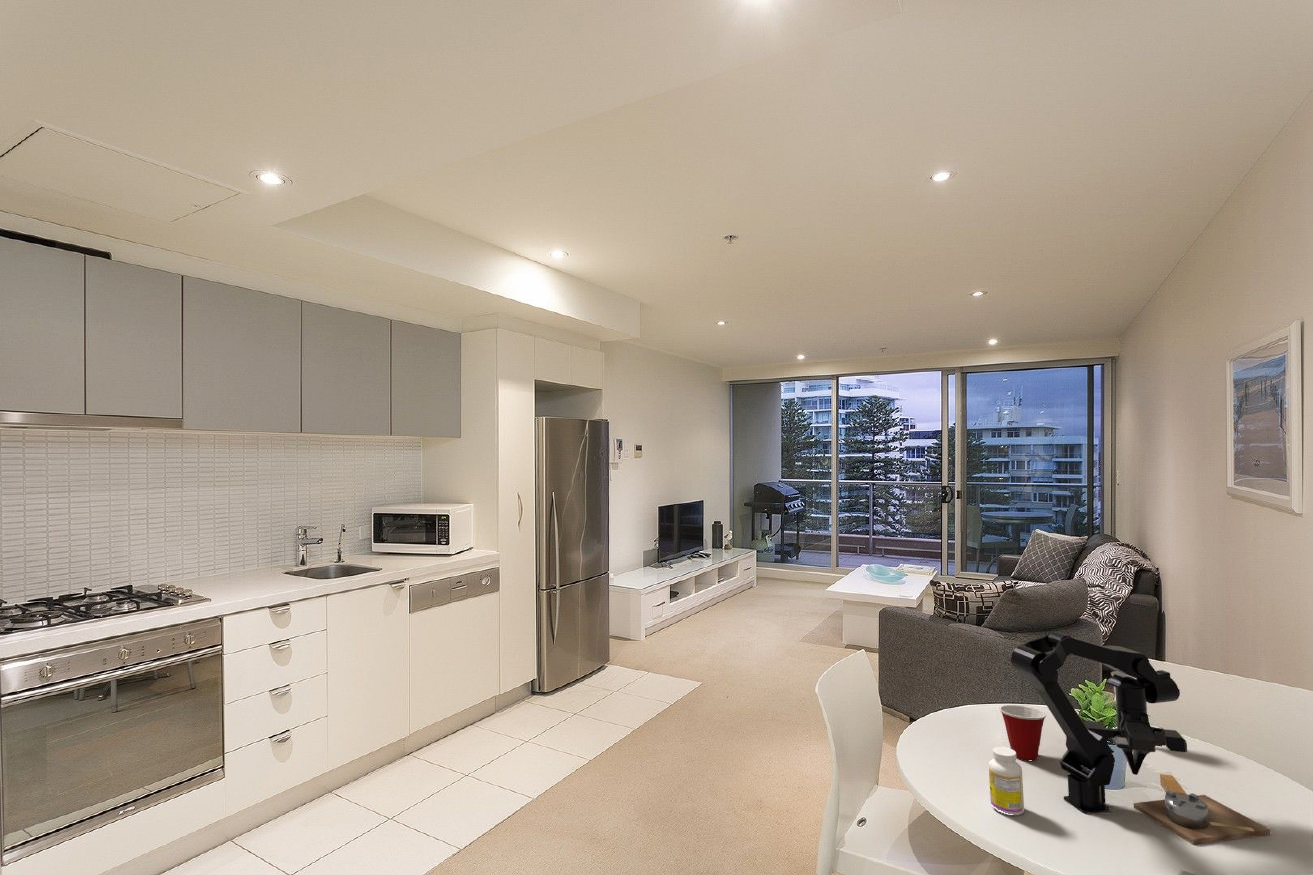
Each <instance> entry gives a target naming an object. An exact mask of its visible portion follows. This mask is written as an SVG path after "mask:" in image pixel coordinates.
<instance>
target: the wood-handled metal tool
mask: <svg viewBox="0 0 1313 875" xmlns="http://www.w3.org/2000/svg"><path fill="white" fill-rule="evenodd" d="M1159 779H1160V780H1159V781H1160V782H1159V783H1160V787H1161V788H1162V789H1163V791H1164V792H1165V795H1164V799H1165V806H1166V816H1167V817H1168V818H1169V819H1170V820H1172V821H1174V822H1176V823H1178V824H1180V825H1183V826H1187V827H1191V828H1206V827H1208V825H1209V823H1208V806H1207V804H1206V803H1205V802H1204V801H1202V800H1201V799H1199V796H1198V795H1199V794H1196V793H1193V792H1191V793H1189V794H1187V793H1186V791H1185V790H1184V789H1183V787H1182V785H1180V783H1179V782H1178V781H1177V779H1176V778H1175V777H1174V775H1172V774H1171V775H1170V774H1162V773H1160V774H1159Z"/></svg>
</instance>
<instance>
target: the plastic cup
mask: <svg viewBox="0 0 1313 875" xmlns="http://www.w3.org/2000/svg"><path fill="white" fill-rule="evenodd" d="M999 711H1000V713H1001V715H1002V718H1003V722H1004V725H1005V729H1006V734H1007V740H1008V743H1009V746H1010V749H1012V750H1014V751H1015V752H1016V757H1017V758H1019V759H1018V760H1020V759H1023V760H1022V761H1024V760H1032V761H1031V762H1034V761H1036V760H1037V759H1038V756H1039V751H1040V746H1041V739H1042V738H1041V737H1042V733H1043V732H1042V730H1043V726H1044V722H1045V719H1046V717H1047V713H1046V711H1043V710H1040V709H1038V708H1034V707H1032V706H1031V707H1030V706H1025V705H1018V704H1005V705H1001V706H1000V707H999ZM1017 758H1016V759H1017ZM1033 760H1034V761H1033Z"/></svg>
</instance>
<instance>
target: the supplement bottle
mask: <svg viewBox="0 0 1313 875" xmlns="http://www.w3.org/2000/svg"><path fill="white" fill-rule="evenodd" d="M992 756H993V758H992V759H991V760H989V763H988V776H989V778H988V779H989V796H990V805H991V804H992V805H993V806H994V807H996V808H997V809H998V810H1001V811H1003V812H1005V813H1008V814H1013V815H1017V816H1020V815H1019V814H1021V815H1022V814H1023V813H1024V811H1025V801H1024V799H1025V798H1024V783H1023V780H1024V779H1023V769H1022V766H1021V765H1020V763H1019V762H1017V761H1016V760H1017V757H1016V752H1015V751H1014V750H1012V749H1011V747H1010V748H1009V747H1007V746H1006V747H1005V746H995V747H994V748H992Z"/></svg>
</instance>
